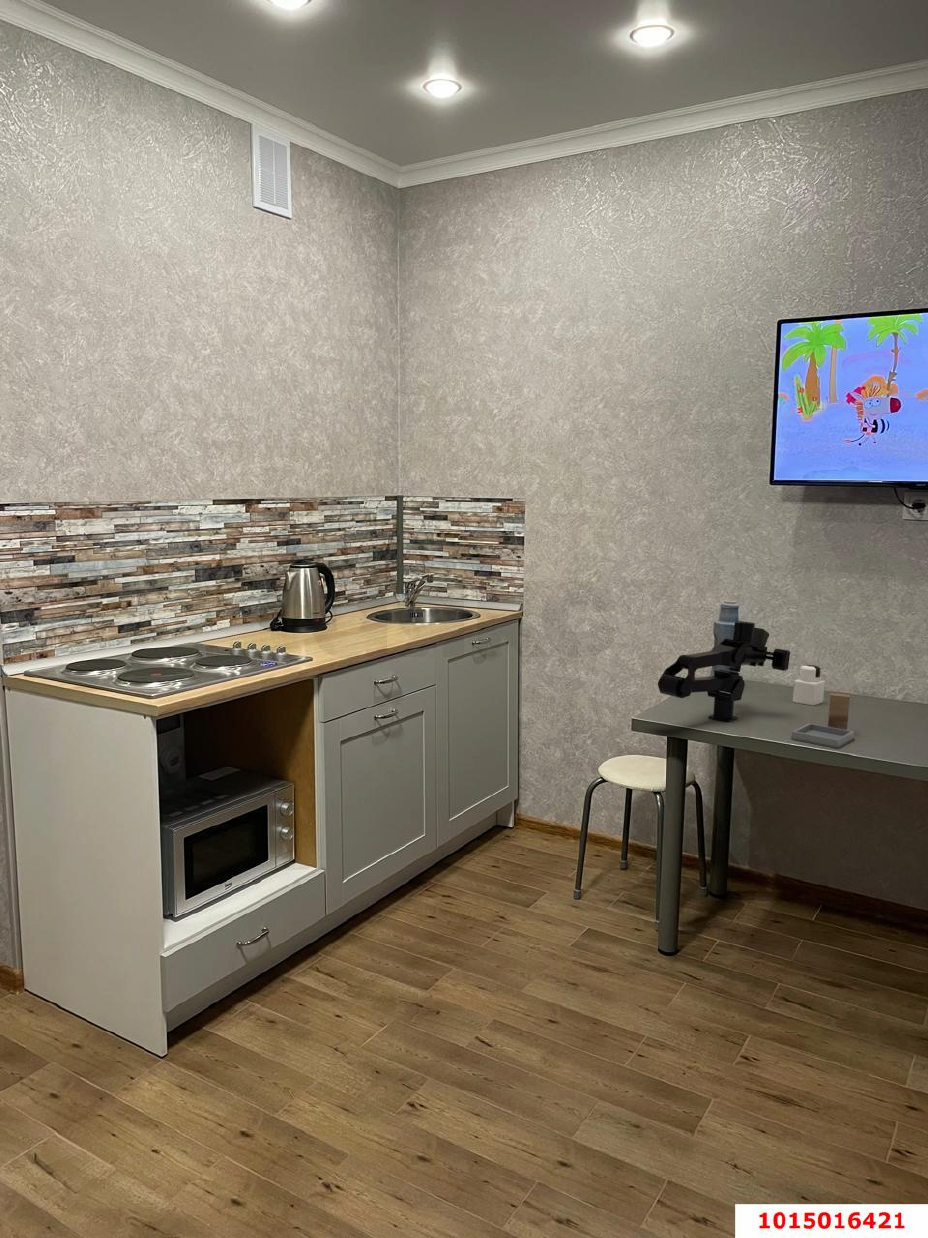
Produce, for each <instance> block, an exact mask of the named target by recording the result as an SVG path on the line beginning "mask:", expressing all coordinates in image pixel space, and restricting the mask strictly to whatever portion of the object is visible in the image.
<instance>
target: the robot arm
mask: <svg viewBox="0 0 928 1238" xmlns="http://www.w3.org/2000/svg"><path fill="white" fill-rule="evenodd" d="M755 625H756V623H755V622H751V621H750V622H749V621H742V620H739V621H736V622H735V625H734V635H733V639H726V638H725V639H724V640H723V641H722V642H721V643H720V644H719V645H718V646H715V647H714V646H713V647H712V648H711V650H708V651H702V652H696V653H689V654H681V655H679V656H678V658H677V660H676V661H675V662H674V663H672V664H671V665H669V666H668V667H667V668H665V669H664V672H663V673H662V674H661V676H660V677H659V679H658V680H657V681H658V682H657V687H658V690H659V693H660V694H662V695H666V696H670V697H675V698H679V699H684V698H688V697H690V696H691V694H692V693H704V692H705V693H707V696H708V697H710V698H713V714H711V715H708V718H709V719H712V720H717V721H721V722H722V721H723V722H727V723H728V722H732V721H735V720H737V719H738V717H739V716H737V715H734V708H735V707H734V706H735V702H737V701H741V700H742V696H743V694H744V689H745V685H746V682H745V681H744V679H743V678H744V677H743V676H742V675H740V672H741V669H742V666H750V667H756V666H757V667H758V666H759V667H765V666H764V665H765V662H766V661H767V660H770V661H772V662H771V667H772V669H773V670H778V671H785V672H786V671H788V670H789V665H790V657H791V651H790V650H789V649H783V648H775V649H774V650H773V651H769V650H768V646H766V645H767V643H768V639H769V637H770V633H769V631H767V630H765V629H764V628H761V627H756V626H755ZM716 665H723V666H729V670H731V671H736V672H738V673H735V672H730V671H725V670H719V671H716V670H714V675H713V677H710V676H702V677H701V676H700V677H699V676H697V677H696V671H697V670H698V669H704V668H710V667H712V666H716ZM683 670H687V674H686V676H685V677H682V676H678V674H679V673H680V672H682V671H683ZM676 675H677V676H676Z"/></svg>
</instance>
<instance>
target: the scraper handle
mask: <svg viewBox="0 0 928 1238" xmlns="http://www.w3.org/2000/svg"><path fill="white" fill-rule="evenodd" d="M850 695H851V693H850V692H849V693H848V692H840V691H831V692H830V696H829V698H830V699H829V708H828V709H829V710H828V722H827V727H833V728H838V729H843V730H848V721H849V710H850V709H849V707H850V698H851V696H850Z"/></svg>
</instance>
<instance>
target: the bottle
mask: <svg viewBox="0 0 928 1238" xmlns="http://www.w3.org/2000/svg"><path fill="white" fill-rule="evenodd" d="M739 608H740V605H739V604H738V603H737V601H736V600H727V599H726V600H724V601H722V602H721V603H720V611H719V615H718V616H719V617H718V619H716V620H714V621H713V627H712V628H713V630H712V633H713V638H714V640H713V641H714V643H713V647H715V646H718V645H719V644H720V643H721V642H722V641H723V640H724V639H725V638H726V639H733V635H734V625H735V622H736V621H740V619H739V616H740V615H739ZM714 670H716V671H719V670H725V671H730V672H735V673H739V672H736V671H731V670H729V666H723V665H716V666H711V671H710V673H709V677H713V675H714Z"/></svg>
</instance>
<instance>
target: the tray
mask: <svg viewBox="0 0 928 1238" xmlns="http://www.w3.org/2000/svg"><path fill="white" fill-rule="evenodd" d="M855 732H856V731H853V730H848V729H847V730H843V729H838V728H833V727H828V725H827V726H826V725H822V724H821V725H820V724H817V723H812V722H809V723H806V724H805V725H802V726H800V727H798V728H796V729H794V730H792V731H791V740H793V741H799V742H803V743H807V744H813V745H817V746H823V747H828V748H833V749H837V750H838V749H840V748H842V747H843V746H845V745H847V744H849V743H850V742H853V741H854V740H855V736H856V735H855V734H856V733H855Z"/></svg>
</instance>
